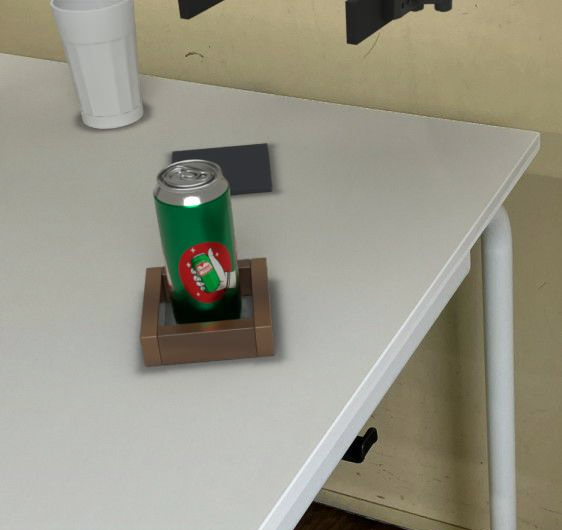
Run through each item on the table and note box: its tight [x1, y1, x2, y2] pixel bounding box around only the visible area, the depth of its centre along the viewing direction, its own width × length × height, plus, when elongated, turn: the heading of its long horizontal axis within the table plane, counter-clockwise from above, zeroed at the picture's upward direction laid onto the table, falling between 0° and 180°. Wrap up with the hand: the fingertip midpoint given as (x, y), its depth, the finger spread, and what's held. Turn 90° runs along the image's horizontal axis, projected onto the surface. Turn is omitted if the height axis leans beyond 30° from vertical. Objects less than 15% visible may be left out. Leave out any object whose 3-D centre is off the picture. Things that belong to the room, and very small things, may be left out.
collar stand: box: [139, 256, 276, 367], centre depth 72 cm, size 9×9×2 cm
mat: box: [171, 142, 273, 195], centre depth 92 cm, size 9×9×1 cm
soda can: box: [152, 160, 245, 325], centre depth 69 cm, size 5×5×12 cm
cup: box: [49, 0, 145, 130], centre depth 100 cm, size 8×8×12 cm
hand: (262, 11), depth 67 cm, fingers open, 13 cm apart
